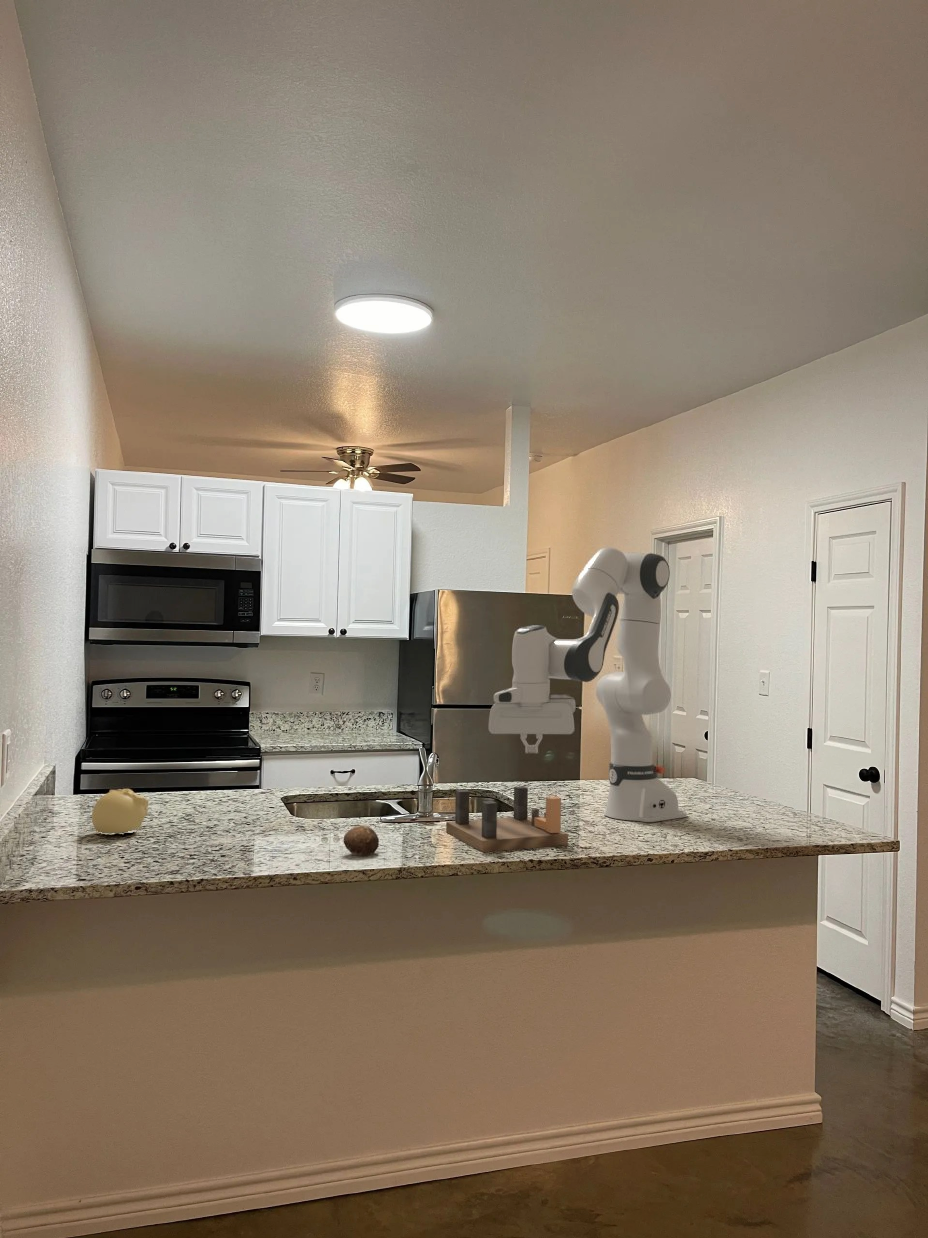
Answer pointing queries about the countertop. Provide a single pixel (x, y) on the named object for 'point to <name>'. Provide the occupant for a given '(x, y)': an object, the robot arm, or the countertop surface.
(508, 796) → the countertop surface
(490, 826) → the wooden peg board
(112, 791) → the sculpture
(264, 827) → the countertop surface
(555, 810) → the l-shaped wooden block
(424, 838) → the countertop surface
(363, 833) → the brown rounded lump
